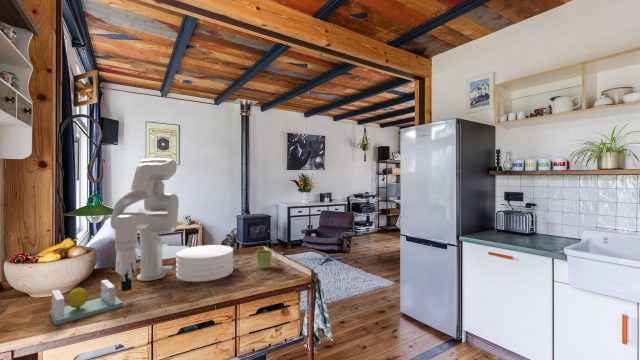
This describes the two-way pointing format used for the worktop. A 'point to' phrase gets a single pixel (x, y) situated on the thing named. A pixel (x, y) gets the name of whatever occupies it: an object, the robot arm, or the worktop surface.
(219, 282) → the worktop surface
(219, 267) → the plate stack
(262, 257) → the plant pot
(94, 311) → the vise base
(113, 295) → the vise jaw
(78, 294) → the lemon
